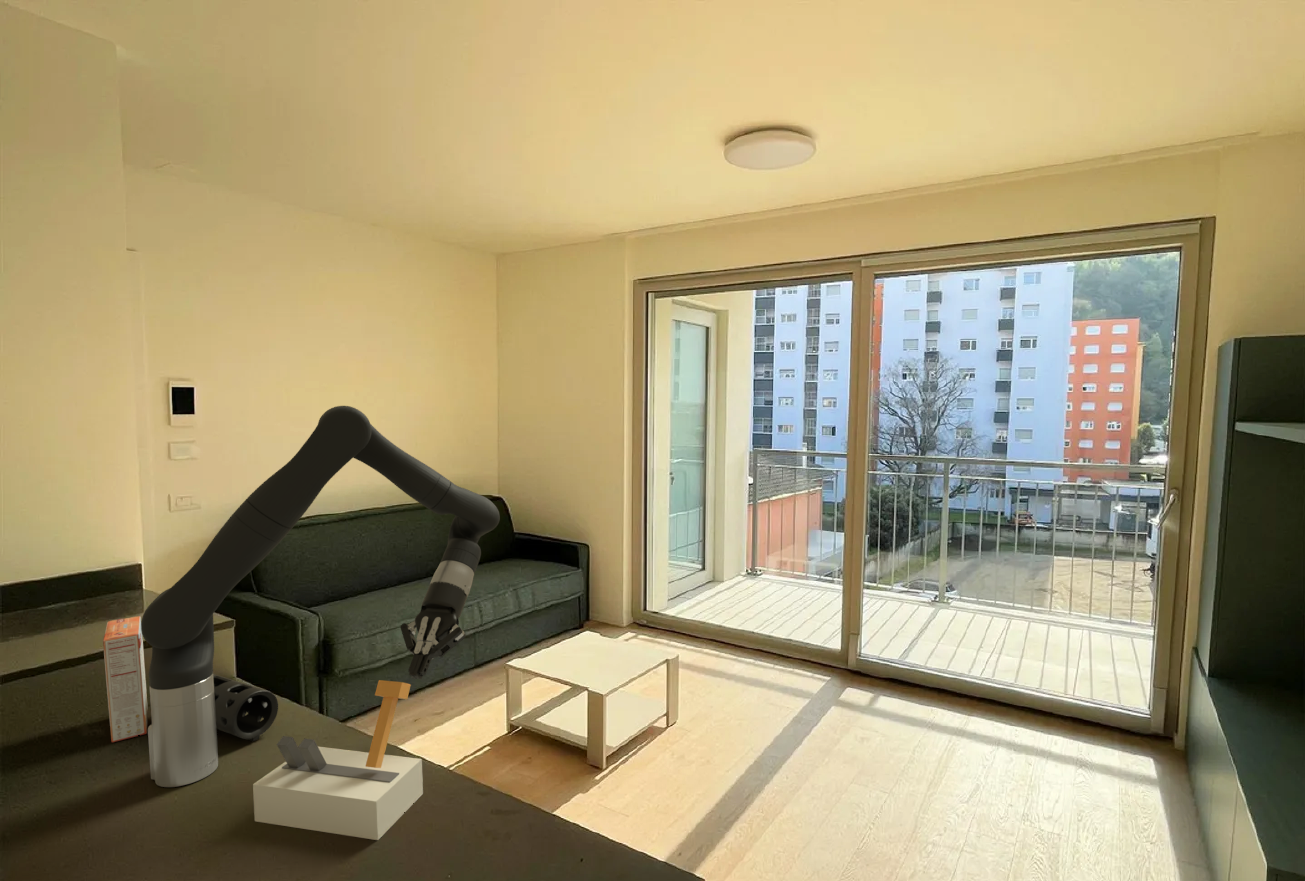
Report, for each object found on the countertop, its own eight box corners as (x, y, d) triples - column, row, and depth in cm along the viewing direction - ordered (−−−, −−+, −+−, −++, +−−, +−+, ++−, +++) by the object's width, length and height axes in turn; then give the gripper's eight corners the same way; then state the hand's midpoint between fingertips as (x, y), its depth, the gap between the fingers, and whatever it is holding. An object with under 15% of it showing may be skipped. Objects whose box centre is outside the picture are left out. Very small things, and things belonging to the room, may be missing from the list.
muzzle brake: (232, 754, 125) (229, 700, 124) (153, 722, 138) (150, 673, 137) (281, 731, 133) (278, 681, 133) (202, 703, 146) (200, 657, 146)
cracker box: (112, 717, 140) (106, 620, 139) (148, 709, 144) (142, 614, 142) (108, 744, 129) (101, 639, 128) (147, 735, 132) (140, 632, 131)
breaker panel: (254, 821, 104) (251, 748, 103) (310, 778, 116) (307, 712, 115) (377, 840, 99) (374, 763, 99) (423, 793, 111) (420, 724, 110)
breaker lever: (356, 765, 105) (378, 680, 111) (366, 765, 108) (387, 682, 113) (380, 768, 104) (402, 682, 110) (390, 768, 107) (410, 684, 112)
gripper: (410, 578, 127) (372, 665, 116) (473, 581, 124) (440, 671, 113) (426, 597, 133) (391, 682, 122) (487, 601, 130) (457, 688, 119)
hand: (415, 677), depth 117 cm, fingers closed
